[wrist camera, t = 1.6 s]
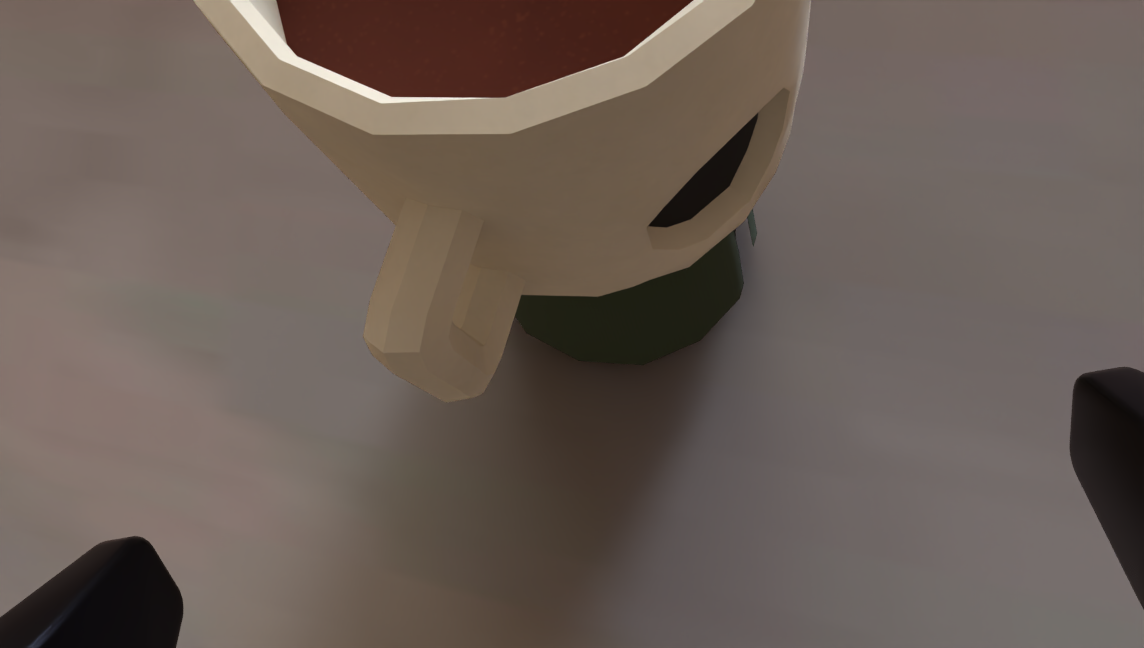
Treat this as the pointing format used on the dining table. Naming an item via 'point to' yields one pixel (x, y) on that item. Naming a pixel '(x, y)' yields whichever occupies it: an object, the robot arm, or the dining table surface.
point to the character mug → (538, 161)
